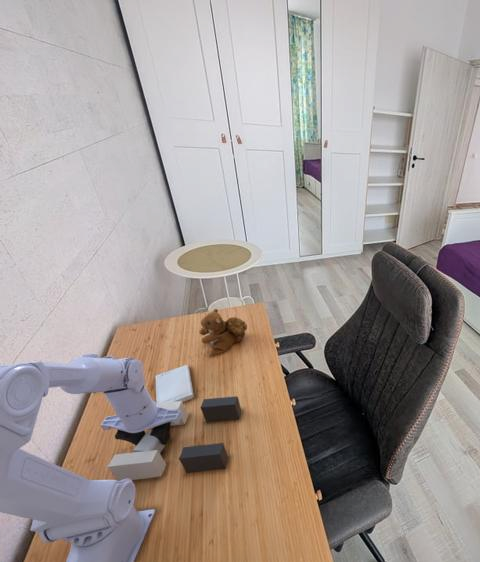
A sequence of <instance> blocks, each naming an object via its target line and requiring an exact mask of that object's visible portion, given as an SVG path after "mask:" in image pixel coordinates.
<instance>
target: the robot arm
mask: <svg viewBox="0 0 480 562" xmlns="http://www.w3.org/2000/svg"><path fill="white" fill-rule="evenodd" d="M145 383H146V377H145V375H144V366H143V362H142V360H139V359H137V358H135V357H132V356H131V357H122V358H116V357H115V355H106V356H103V357H99V354H98V353H85V354H82V356H81V357H77V358H75V359H72V360H71V361H69V362H68V363H61V362H50V361H49V362H48V361H42V360H34V361H33V360H31V361H25V362H17V363H8V364H0V513H1V514H6V515H11V516H15V517H20V518H24V519H29V520H32V521H31V522H32V523H31V526H30V532H33V533H37V534H38V536H39V537H40V540H41V541H42V542H43V543H44V544H45V543H47V544H50V543H54V542H56V541H58V540H62V541H64V542H66V543H67V542H70V549H69V553H68V554H67V555H68V556H67V558H66V560H65V562H135V561H136V559H137V556H138V553H139V551H140V548H141V546H142V544H143V541H144V539H145V537H146V535H147V532H148V530H149V528H150V525H151V523H152V521H153V518H154V516H155V513H156V510H155V508H154V509H153V508H152V509H151V508H150V509H145V510H137V509H136V508H135V507H134V503H135V502H136V501H135V500H136V494H137V493H136V485H135V483H134V482H133V480H131V479H123V480H121V481H118V479H88V478H87V477H84V476H82V475H79V474H77V473H75V472H73V471H71V470H68V469H66V468H64V467H62V466H60V465H57V464H55V463H52V462H51V461H48V460H46V459H44V458H41V457H39V456H37V455H35V454H32V453H30V452H29V451H28V452H27V451H25V450H23V449H21V448H22V447H24V446H25V445H27V444H29V443H30V442H31V440H32V436H33V432H34V429H35V425H36V423H37V418H38V414H39V412H40V408H41V406H42V405H41V404H42V401H43V398H44V397H46V396H48V394H49V389H53V388H60V390H62V391H63V392H64V393H66V394H70V395H81V394H82V395H83V394H90V393H91V394H97V393H102V394H103V395H104V396H105V399H107V402H109V404H110V406H111V407H112V409H113V410H114V412H115V413H116V414H114V415H110V416H105V418H104V419H103V421H102V422H101V424H100V427H101V428H102V430H103V431H104V432H105V431H110V430H111V429H114V430H116V433H115V434H114V439H115V440H121V441H124V442H129V443H131V444H133V445H134V446H135V447H136V446H137V445H138V443H139V442H140V441H141V439H142V438H143V437H144V435H145V434H146V433H147V432H146V431H148V430H150V429H152V430H150V431H151V433H150V436H154V437H156V438H157V439H158V440H159V441H160V443H161V444H162V445H165V446H166V445H168V443H169V441H170V439H171V426H170V425H171V422H173V423H174V424H179V422H180V420H181V418H182V414H181V411H180V410H178V411H175V410H170V409H166V408H162V407H158V406H155V405H156V401H154V400H153V399H152V397H151V394H150V393H149V391H148V389H147V387H146V385H145Z"/></svg>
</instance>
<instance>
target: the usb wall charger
mask: <svg viewBox="0 0 480 562" xmlns="http://www.w3.org/2000/svg"><path fill="white" fill-rule="evenodd" d="M151 431H152V430H146V432H145V433H146V434H145V435H144V437H143V438H142V439H141V441H140V442H139V443H138V445H137V446H136V445H135V447H134V448H133V450H132V453H134V452H143V451H152V450H158V451H159V453H160V454H161V452H162V451H163V449H164V447H165V446H166V445H162V444H161V443H160V441H159V440H158V439H157V438H156V437H154V436H150V433H151Z"/></svg>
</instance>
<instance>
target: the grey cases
mask: <svg viewBox="0 0 480 562" xmlns="http://www.w3.org/2000/svg"><path fill="white" fill-rule="evenodd" d="M199 408H200V410H201V414H202V415H203V418H204V420H205V423H213V422H214V423H215V422H224V421H234V420H240V418H241V415H242V408H241V404H240V400H239V396H238V395H237V396H236V395H235V396H227V397H225V396H223V397H213V398H203V400H202V402H201V404H200V407H199ZM178 461H179V462H180V464H181V466H182V467H183V470H184V472H185V474H195V473H200V472H211V471H219V470H226V468H227V465H228V461H229V454H228V452H227V448H226V447H225V443H224V442H220V443H219V442H218V443H211V444H210V443H209V444H200V445H199V444H198V445H192V446H190V445H189V446H183V447H182V450H181V451H180V454H179V457H178Z"/></svg>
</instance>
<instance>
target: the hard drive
mask: <svg viewBox="0 0 480 562" xmlns="http://www.w3.org/2000/svg"><path fill="white" fill-rule="evenodd" d="M154 377H155V378H154V379H155V400H156V401H155V402H156V403H163V402H175V401H182V402H183V403H185V402H187V401H189V400H192V399H194V398H195V394H194V389H193V383H192V377H191V372H190V365H188V364H185V365H183V366H179V367H176V368H173V369H171V370H168V371H165V372H162V373H159V374H157V375H155V376H154Z"/></svg>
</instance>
